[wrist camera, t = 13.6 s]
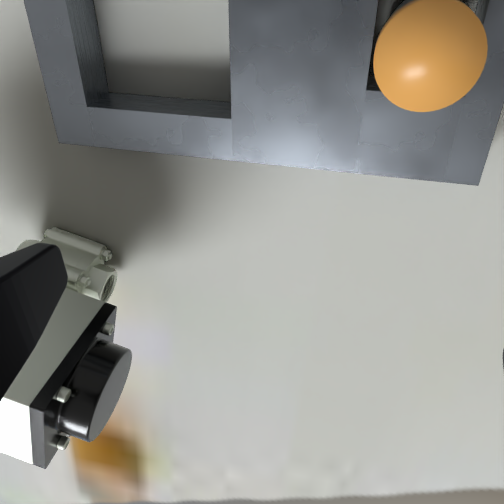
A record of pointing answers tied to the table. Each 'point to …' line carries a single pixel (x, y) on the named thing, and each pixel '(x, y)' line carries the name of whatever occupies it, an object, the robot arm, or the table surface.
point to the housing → (276, 95)
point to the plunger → (429, 54)
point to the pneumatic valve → (68, 361)
